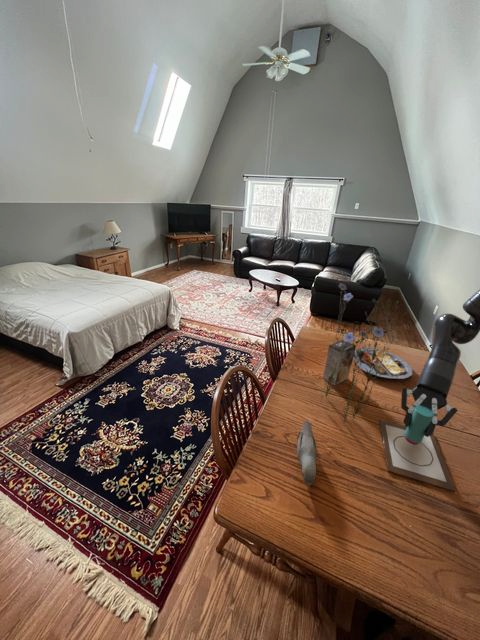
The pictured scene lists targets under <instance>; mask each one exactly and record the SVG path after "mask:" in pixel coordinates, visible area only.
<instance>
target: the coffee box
mask: <svg viewBox="0 0 480 640" xmlns="http://www.w3.org/2000/svg"><path fill="white" fill-rule="evenodd" d="M340 340H341V341H340ZM340 340H338V344H339V342H340V344H339V345H338V347H337V341H335V344H334V343H331V344H329V346H328V350H327V355H326V360H325V365H324V369H323V373H322V374H323V375H322V379H323V380H324V381H325V380H326V382H328V381H329V383H330V382H331V381H330V380H329V378H330V377H331V380H333V379H334V378H335V379H334V381H332V382H331V383H332V384H333V385H332V384H331V385H332V386H337V385H338V384H340V383H342V382H344V381H345V380H347V379H349V375H350V371H351V367H352V364H353V360H354V358H353V354H354V351H355V350H354V349H357V346H356V345H357V344H356V345H355V344H354V345H355V346H356V347H355V348H354V349H352V346H353V343H352V342H350V343H347V342H344V340H343V343H344V344H343V347H342V343H341V342H342V339H340ZM346 343H347V344H346ZM333 345H334V348H333ZM345 345H346V346H345ZM344 347H346V348H345V349H344ZM332 348H333V349H334V350H332ZM343 349H344V350H343ZM351 349H352V350H351ZM341 350H343V351H342V352H341ZM350 350H351V352H350V353H349V351H350ZM332 351H333V352H335V353H336V355H338V358H339V359H338V358H337V357H336V355H335V353H333V352H332ZM331 352H332V353H331ZM340 353H341V354H340ZM347 353H348V354H347ZM346 354H347V355H346ZM330 356H331V357H330ZM343 357H344V358H345V357H346V358H345V359H344V360H341V359H342V358H343ZM330 359H331V361H329V360H330ZM333 359H334V362H333ZM337 359H338V362H339V361H340V360H341V361H340V362H339V363H338V364H337V367H336V363H337ZM329 363H332V364H329ZM334 363H335V364H334ZM328 366H329V368H328ZM335 367H336V370H335ZM327 369H328V370H327ZM333 369H334V370H335V374H334V376H333V378H332V372H334V371H333ZM327 371H329V372H328V374H327ZM326 376H327V377H326ZM326 378H327V379H326ZM335 381H336V382H335ZM333 382H334V383H333Z"/></svg>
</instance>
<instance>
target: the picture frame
mask: <svg viewBox="0 0 480 640" xmlns="http://www.w3.org/2000/svg"><path fill="white" fill-rule="evenodd" d="M379 427H380V433H381V439H382V445H383V451H384V452H383V453H384V458H385V465H386V470H387V473H391V474H393V475H397V476H400V477H403V478H406V479H410V480H413V481H416V482H418V483H419V482H420V483H423V484H425V485H429V486H432V487H436V488H439V489H441V490H444V491H449V492H451V493H456V489H455V486H454V483H453V480H452V478H451V475H450V474H449V471H448V467H447V465H446V462H445V460H444V457H443V455H442V452H441V450H440V447H439V445H438V441H437V440H436V437H435V434H434V433H433V434H432V435H431V436H428V437H426V436H425V435H424V437H423V439H422V441H421V442H420V443H419V444H417V445H414V444H411V443H409V442H408V441H407V440H406V439H405V431H406V428H407V427H405V425H402V424H398V423H394V422H391V421H388V420H383V419H379Z"/></svg>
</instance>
